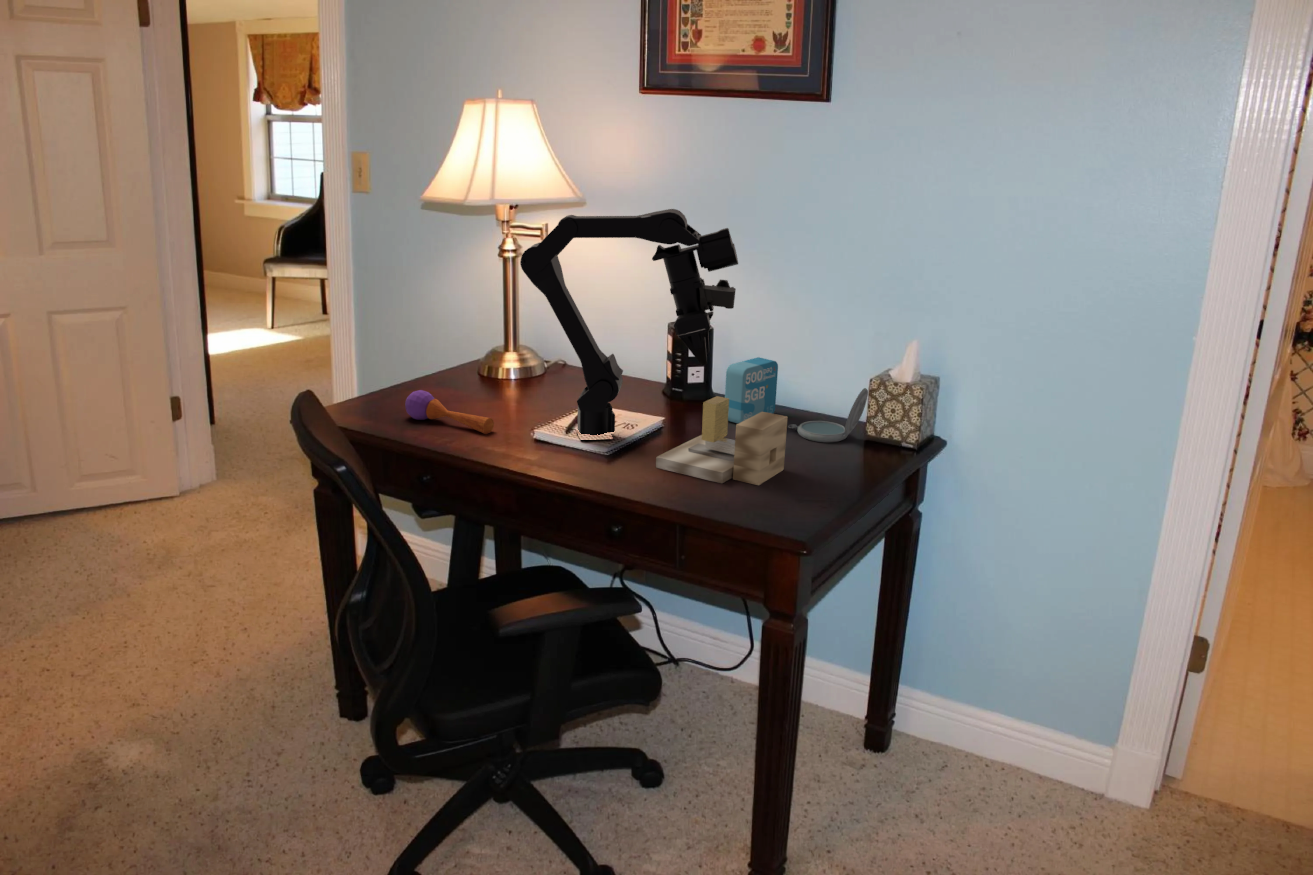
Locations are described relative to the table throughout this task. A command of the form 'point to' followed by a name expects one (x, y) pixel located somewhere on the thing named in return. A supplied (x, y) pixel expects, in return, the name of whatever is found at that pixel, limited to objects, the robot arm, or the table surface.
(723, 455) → the door and jamb
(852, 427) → the pocket watch
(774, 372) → the data package
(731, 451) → the bolt
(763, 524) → the table surface
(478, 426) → the purple maraca
